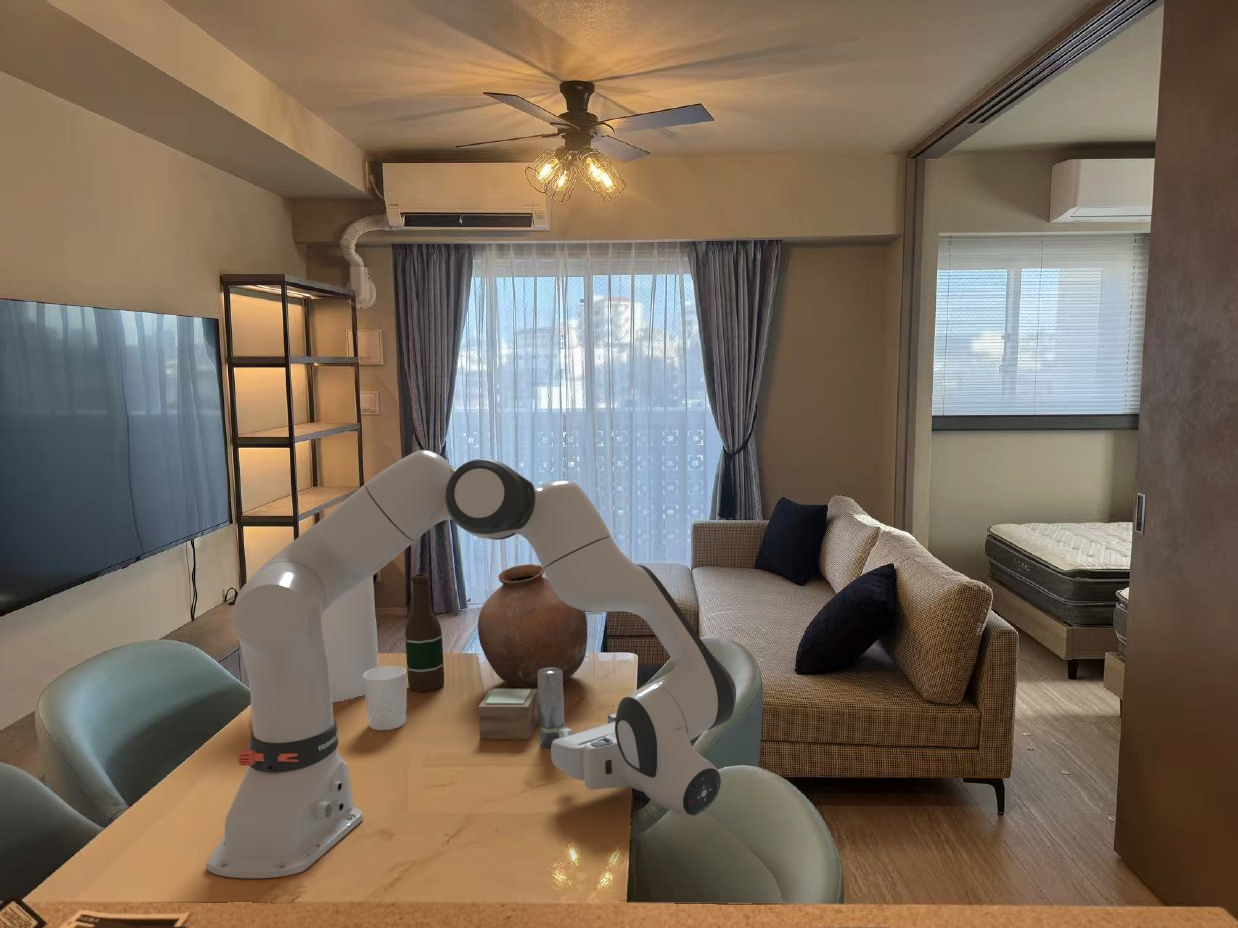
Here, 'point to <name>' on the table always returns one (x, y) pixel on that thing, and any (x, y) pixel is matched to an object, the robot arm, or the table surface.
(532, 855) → the table surface
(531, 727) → the stand block
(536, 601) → the pottery
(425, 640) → the beer bottle
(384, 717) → the white cup
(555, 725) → the grey cylindrical bottle
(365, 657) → the cylinder
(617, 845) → the table surface
